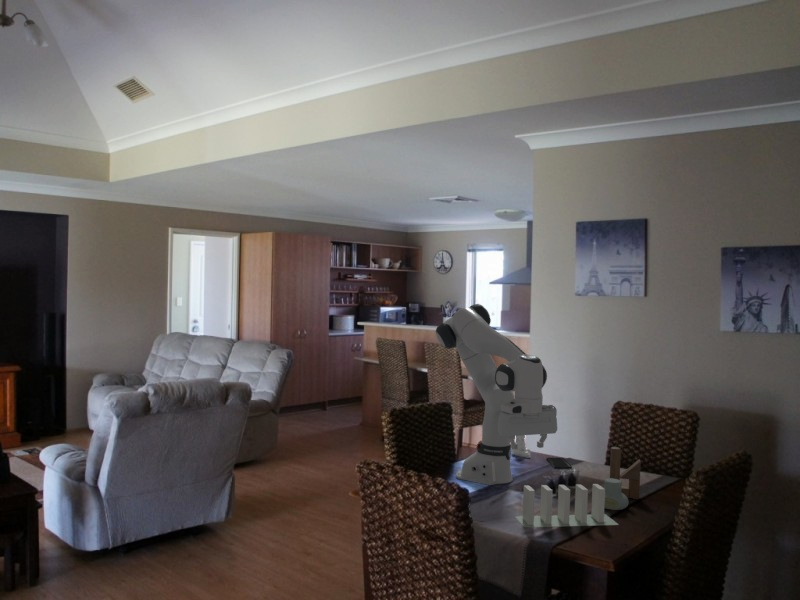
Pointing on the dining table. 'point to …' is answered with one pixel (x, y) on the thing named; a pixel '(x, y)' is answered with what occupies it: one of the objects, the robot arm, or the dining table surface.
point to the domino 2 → (546, 504)
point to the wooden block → (625, 474)
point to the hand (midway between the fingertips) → (527, 448)
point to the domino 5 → (598, 503)
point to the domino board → (572, 522)
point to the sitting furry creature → (521, 448)
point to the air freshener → (614, 495)
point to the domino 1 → (528, 504)
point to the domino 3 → (563, 504)
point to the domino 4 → (581, 503)
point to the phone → (559, 463)
